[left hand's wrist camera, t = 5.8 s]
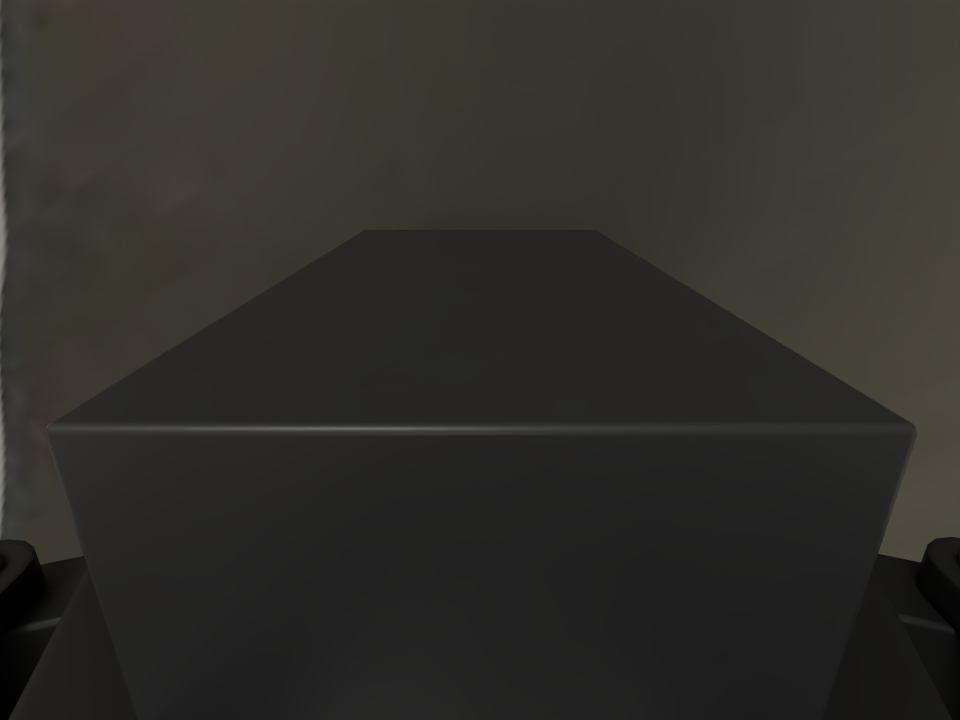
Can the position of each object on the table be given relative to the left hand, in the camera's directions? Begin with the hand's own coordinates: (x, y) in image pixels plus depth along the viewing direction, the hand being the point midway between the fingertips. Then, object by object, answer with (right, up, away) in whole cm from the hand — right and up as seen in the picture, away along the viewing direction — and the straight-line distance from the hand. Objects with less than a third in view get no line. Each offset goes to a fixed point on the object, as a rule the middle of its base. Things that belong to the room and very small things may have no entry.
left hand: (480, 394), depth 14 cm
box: (0, -9, +5) cm, 10 cm away
